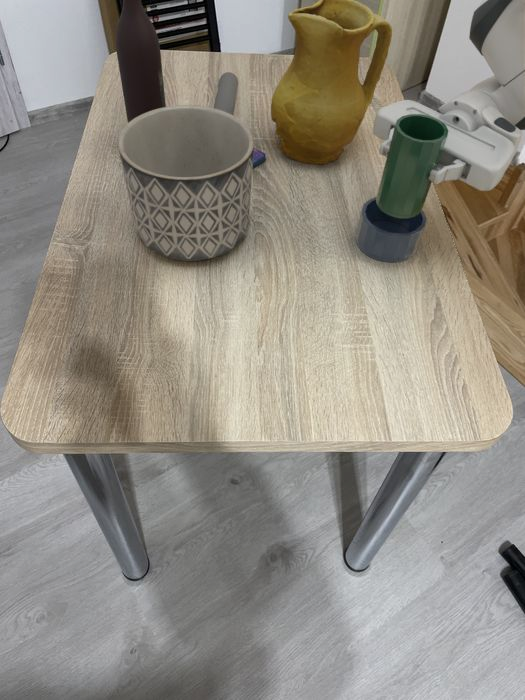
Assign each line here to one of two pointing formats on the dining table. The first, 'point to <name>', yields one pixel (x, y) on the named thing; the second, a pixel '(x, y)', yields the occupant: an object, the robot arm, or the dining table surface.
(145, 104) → the wine bottle
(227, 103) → the gray half cylinder
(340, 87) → the pitcher
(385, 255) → the wide cup
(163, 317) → the dining table surface
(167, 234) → the planter
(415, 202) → the slim cup
